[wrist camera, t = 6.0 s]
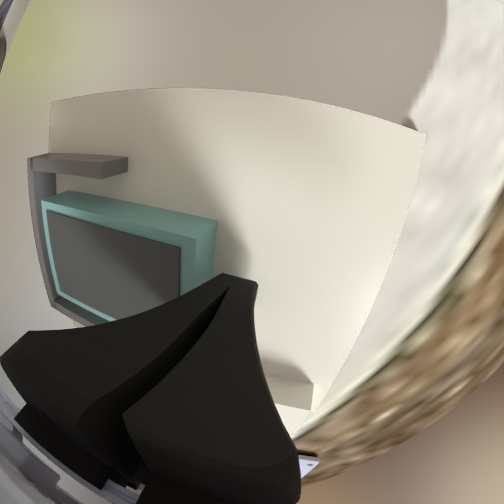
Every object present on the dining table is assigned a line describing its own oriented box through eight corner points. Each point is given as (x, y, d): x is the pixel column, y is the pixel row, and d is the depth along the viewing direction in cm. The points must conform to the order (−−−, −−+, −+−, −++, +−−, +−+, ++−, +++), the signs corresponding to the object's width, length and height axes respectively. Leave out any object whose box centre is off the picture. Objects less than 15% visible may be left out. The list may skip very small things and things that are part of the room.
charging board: (420, 134, 7) (447, 135, 5) (314, 405, 13) (309, 437, 11) (60, 101, 10) (27, 103, 8) (79, 320, 16) (60, 338, 14)
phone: (217, 220, 9) (195, 239, 8) (207, 328, 12) (190, 356, 10) (68, 189, 11) (39, 200, 9) (78, 277, 13) (56, 294, 11)
